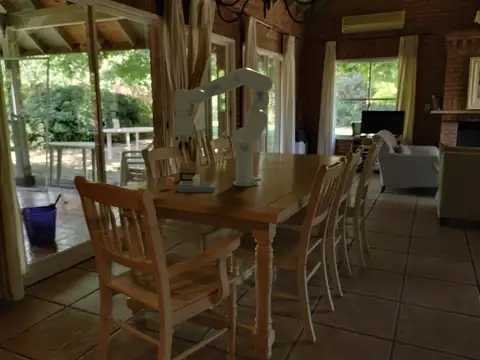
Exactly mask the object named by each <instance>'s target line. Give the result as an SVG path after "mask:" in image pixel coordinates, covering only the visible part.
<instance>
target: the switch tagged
mask: <svg viewBox="0 0 480 360" xmlns="http://www.w3.org/2000/svg"><path fill="white" fill-rule="evenodd" d="M194 176H195V177H198V183H200V182H201V174H197V175H194Z"/></svg>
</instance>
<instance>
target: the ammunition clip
mask: <svg viewBox="0 0 480 360" xmlns="http://www.w3.org/2000/svg"><path fill="white" fill-rule="evenodd" d="M194 175H198V172H197V163H196V160H195V161H194V162H193V161H190V160H189V161H187V160H186V161H185V160H183V161H182V160H180V165H179V182H181V181H193V177H195V176H194Z"/></svg>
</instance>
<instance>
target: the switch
mask: <svg viewBox="0 0 480 360" xmlns="http://www.w3.org/2000/svg"><path fill="white" fill-rule="evenodd" d="M193 186H199V183H198V177H193Z"/></svg>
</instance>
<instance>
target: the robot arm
mask: <svg viewBox="0 0 480 360" xmlns="http://www.w3.org/2000/svg"><path fill="white" fill-rule="evenodd" d="M245 85H246V86H248V87H250V88H251V90H252V93H253V100H252V102H251V104H250V106H249V108H248V110H247V112H246V114H245V116H244V122H245V124H246V127H245V126H244V127H240V128H238V129H237V130H236V131H235V133H234V145H235V181H233V182H232V184H233V186H237V187H253V186H255V185H256V184H257V182H262V177H255V176H254V148H253V146H256V145H257V143H259V140H260V138H261V137H262V135H263V133H264V130H265V128H266V127H267V124H268V115H267V113H266V111H267V108H268V106H269V102H270V95H269V92H270V90H271V89H272V88H273V80H272V78H271V77H270V76H268V75H267V74H263V73H261V72H258V71H256V70H254V69H251V68H249V67H241V68H237V69H235V70H233V71H230V72H228V73H226V74H224V75H222V76H219V77H217V78H215V79H212V80H211V81H209V82H207V83H204V84H202V85H200V86H197V87H196V88H193V89H183V88H182V89H176V90H174V103H175V105H174V106H175V116H174V117H173V129H172V130H173V131H172V135H171V138H172V139H175V140H176V141H177V142H178V149H180V151H182V150H183V141H182V137H185V146H184V147H185V151H187V150H189V148H190V143H189V142H190V141H191V140H192V139H194V138H196V134H195V132H194V131H195V130H194V122H193V120H194V119H193V116H191V115H194V111H191V104H192V105H193V104H194V105H200V104H203V103H204V102H205V101H206V100H207V99H210V98H212V97H215V96H220V95H223V94H226V93H229V92H230V91H232V90H234V89H237V88H239V87H241V86H245Z"/></svg>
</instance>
